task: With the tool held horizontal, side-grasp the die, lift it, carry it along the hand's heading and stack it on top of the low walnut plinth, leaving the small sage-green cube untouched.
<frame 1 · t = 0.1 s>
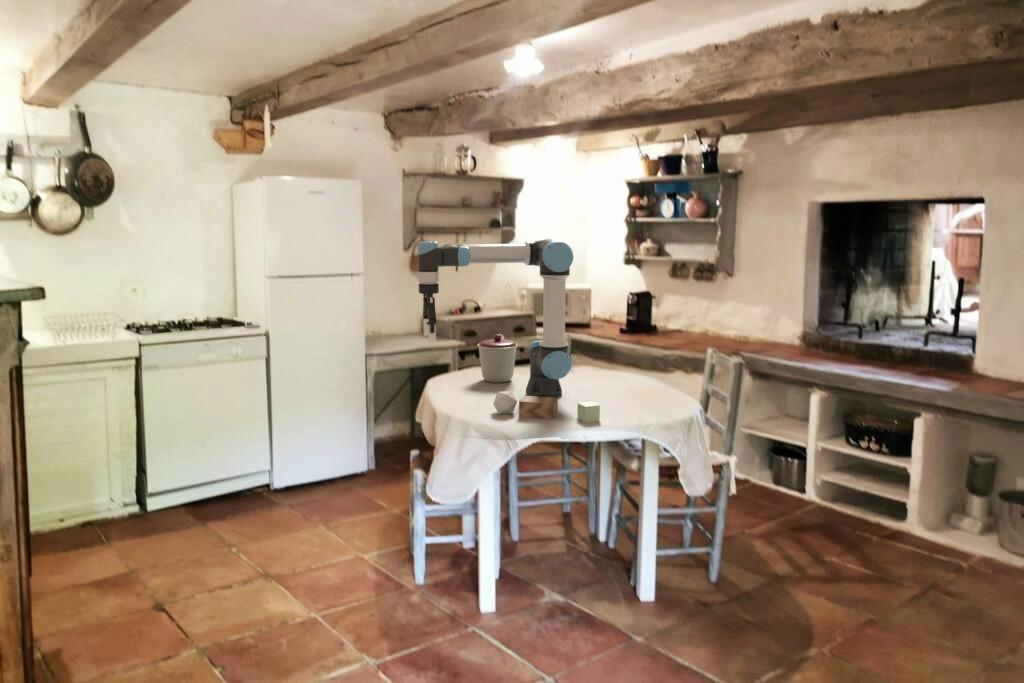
hand: (429, 338, 302), 28 cm above the table, tool pointing down, fingers open, 13 cm apart
canister: (497, 380, 358), on the table
die: (505, 413, 303), on the table
green cube: (588, 419, 294), on the table
plinth: (538, 414, 300), on the table
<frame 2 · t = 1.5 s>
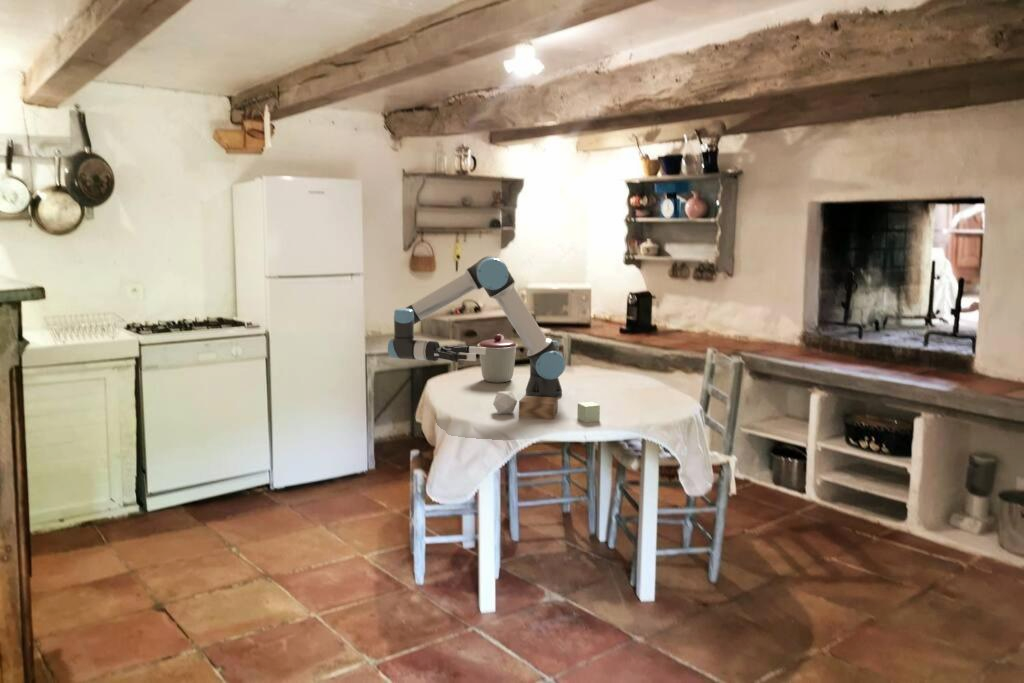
hand: (480, 354, 301), 22 cm above the table, tool horizontal, fingers open, 13 cm apart
nothing on the table moved.
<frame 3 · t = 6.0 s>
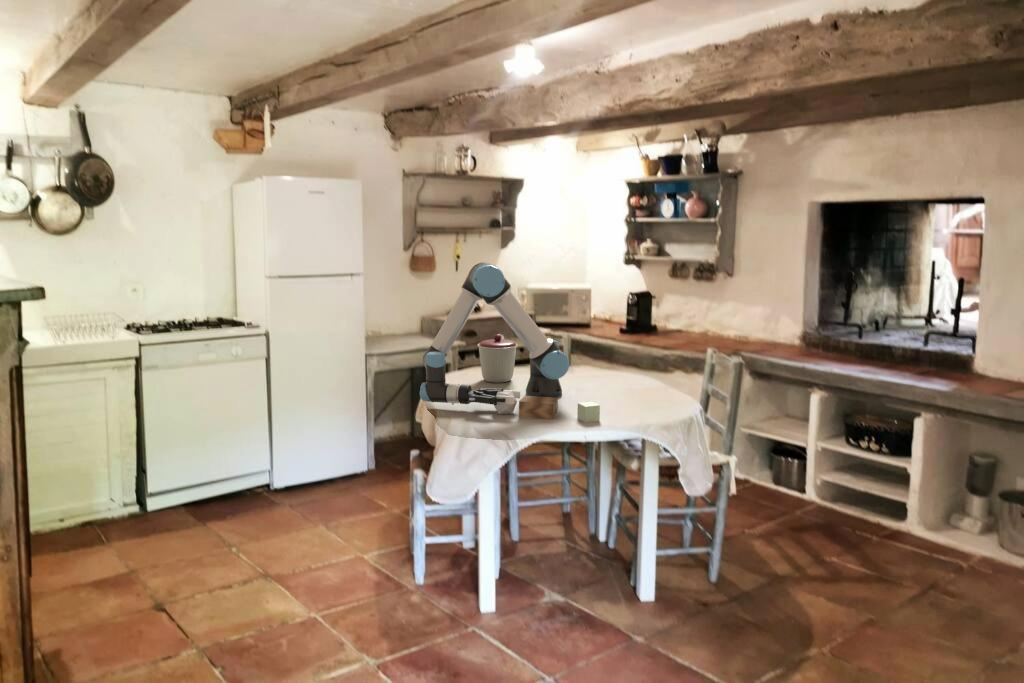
hand: (517, 397, 301), 6 cm above the table, tool horizontal, fingers open, 8 cm apart
die: (505, 413, 303), on the table, touching gripper
everything else where it was.
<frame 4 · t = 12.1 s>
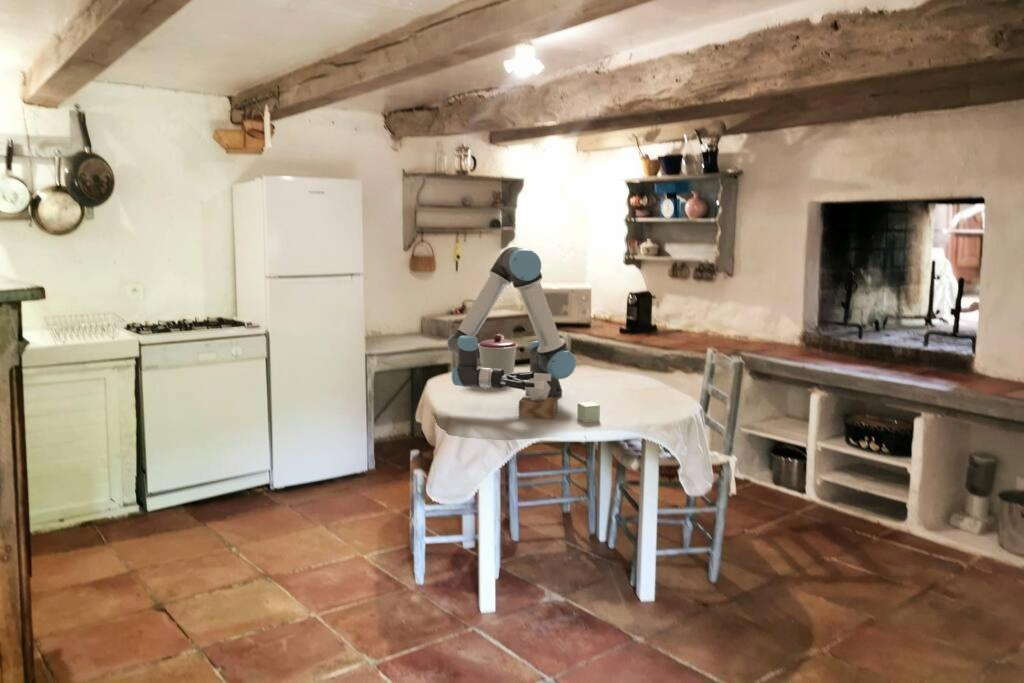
hand: (547, 381, 297), 13 cm above the table, tool horizontal, fingers open, 13 cm apart
die: (538, 400, 298), point 6 cm above the table, touching plinth
everything else where it was.
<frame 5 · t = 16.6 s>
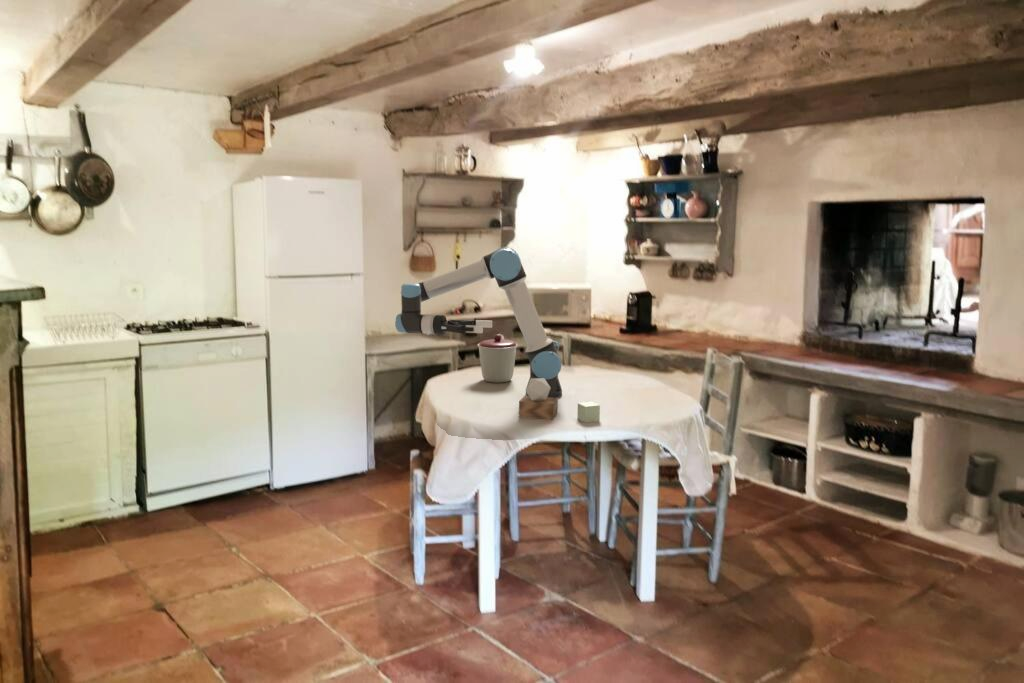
hand: (487, 326, 304), 32 cm above the table, tool horizontal, fingers open, 13 cm apart
nothing on the table moved.
at the end: die inside the target area on the plinth (0.4 cm from its centre), point 5.8 cm above the plinth's base; die tilted 1°; the gripper is holding nothing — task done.
